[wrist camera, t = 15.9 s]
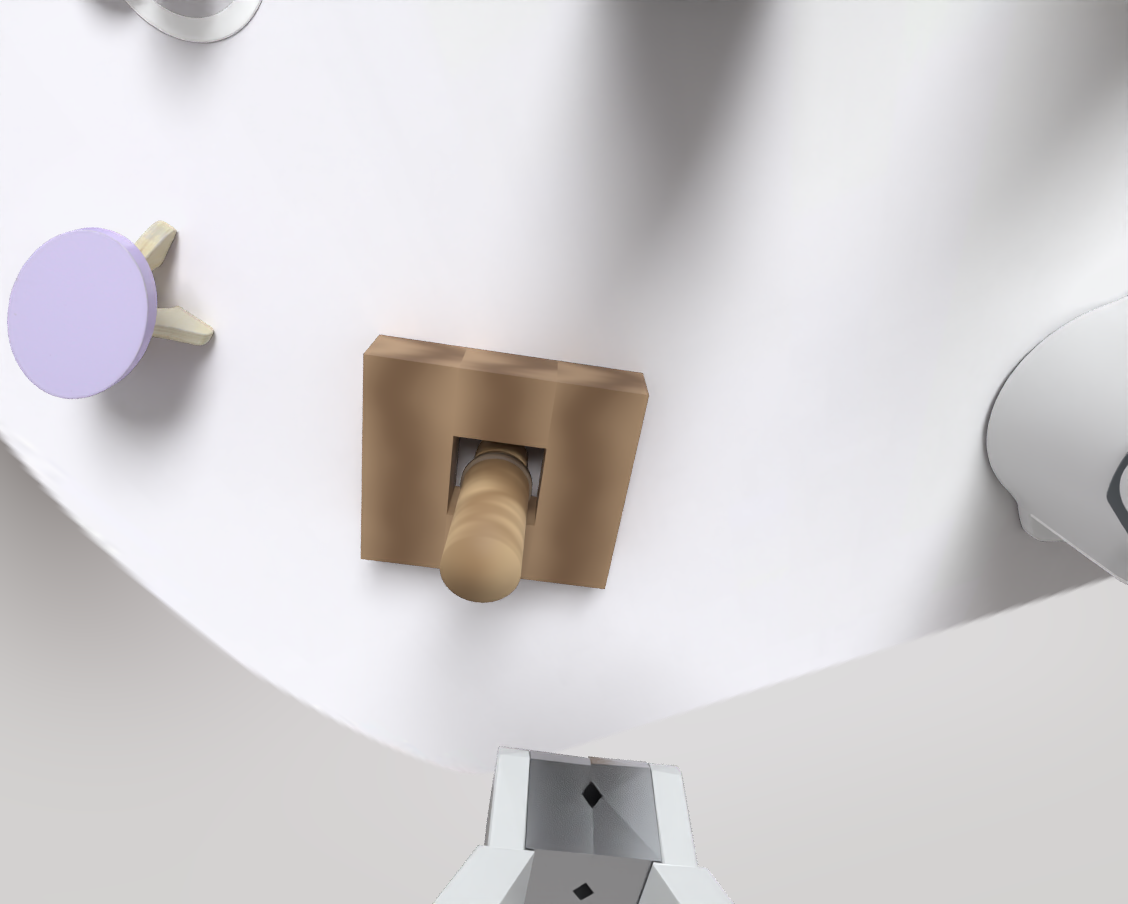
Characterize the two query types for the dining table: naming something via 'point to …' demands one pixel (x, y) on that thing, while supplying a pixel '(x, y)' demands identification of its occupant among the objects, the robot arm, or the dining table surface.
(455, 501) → the board
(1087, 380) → the robot arm
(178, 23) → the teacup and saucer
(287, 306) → the dining table surface
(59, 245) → the toy table
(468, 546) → the peg
